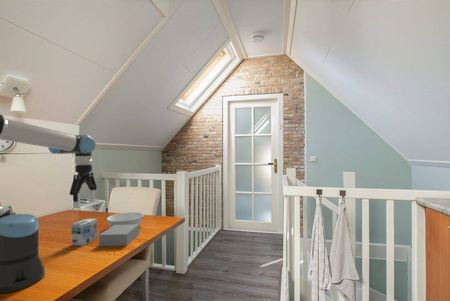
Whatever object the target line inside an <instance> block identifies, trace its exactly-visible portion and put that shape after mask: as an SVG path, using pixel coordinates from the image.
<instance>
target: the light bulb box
mask: <svg viewBox="0 0 450 301" xmlns="http://www.w3.org/2000/svg"><path fill="white" fill-rule="evenodd" d="M97 239H98V218H85V219H82V220H80V221H76V222H74V223H73V222H72V223H71V246H80V247H83V246H85V245H86V244H90V243H91V242H94V241H96V240H97Z"/></svg>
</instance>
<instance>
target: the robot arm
mask: <svg viewBox="0 0 450 301" xmlns="http://www.w3.org/2000/svg"><path fill="white" fill-rule="evenodd" d="M0 140H1V141H7V142H15V143H18V144H19V143H21V144H26V145H31V146H32V145H33V146H38V147H43V148H48V150H49V152H50V153H51V154H53V155H54V154H55V155H56V154H57V155H60V154H61V155H63V154H66V155H67V154H74V164H75V166H74V167H75V168H74V169H75V173H77V174H73V176H72V177H73V178H72V182H71V186H70V190H69V195H70V196H72V200H73V202H72V203H73V204H72V205H73V209H79V208H80V207H81V204H80V203H81V199H80V197H81V196H80V194H79V193H80V191H81V189H82V188H83V187H82V186H83V184H86V186H87V188H88V189H89V190H88V202H89V203H94V202H95V200H96V199H95V191H96V190H97V187H98V186H97V182H96V179H95V176H94V172H93V165H92V160H93V158H92V157H93V156H92V155H93V154H92V152H93V151H95V149H96V146H97V145H96V141H95V139H94V138H93V137H92V136H91V135H88V134H76V135H75V134H72V133H67V132H63V131H58V130H55V129H51V128H46V127H43V126H38V125H35V124H29V123H24V122H21V121H17V120H13V119H8V118H5V116H4V115H3V114H0ZM39 228H40V227H39V220H38V218H37V216H36V215H34V214H31V213H24V214H23V213H15V214H12V212H11V210H10V208H9V207H8V206H6V205H5V206H4V205H2V203H1V202H0V294H1V295H2V294H7V293H12V292H16V291H19V290H22V289H26V288H28V287H30V286H33V285H34V284H36V283H39V282H40V281H41V280H43V278H44V277H45V274H46V270H45V267H44V264H43V263H42V260H41V258H40V255H39Z"/></svg>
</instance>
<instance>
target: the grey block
mask: <svg viewBox="0 0 450 301" xmlns="http://www.w3.org/2000/svg"><path fill="white" fill-rule="evenodd" d="M139 235H140V224H134V225H114V226H112V227H111V226H109V228H107V229H105V230H104V231H102V232H101V233H99V234H98V247H122V246H123V247H127V246H128V245H130V244H131V243H132V242H133V240H135V239H136V238H137V237H138V236H139Z"/></svg>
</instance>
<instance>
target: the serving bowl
mask: <svg viewBox="0 0 450 301" xmlns="http://www.w3.org/2000/svg"><path fill="white" fill-rule="evenodd" d="M143 218H144V214H143V213H142V212H135V211H128V212H121V213H116V214H112V215H110V216H108V217H107V218H106V221H107V224H108V226H109V227H112V226H114V225H134V224H139V225H140V224H141V223H142V222H143Z"/></svg>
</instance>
